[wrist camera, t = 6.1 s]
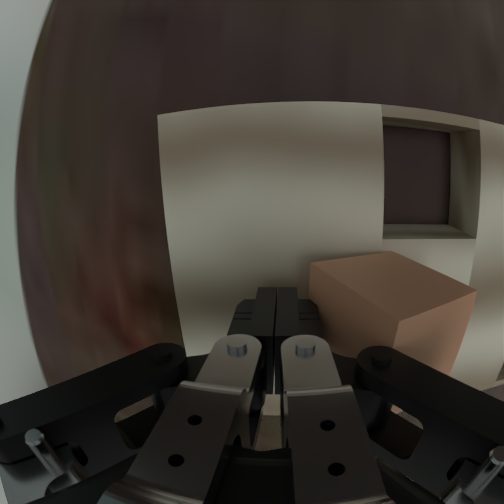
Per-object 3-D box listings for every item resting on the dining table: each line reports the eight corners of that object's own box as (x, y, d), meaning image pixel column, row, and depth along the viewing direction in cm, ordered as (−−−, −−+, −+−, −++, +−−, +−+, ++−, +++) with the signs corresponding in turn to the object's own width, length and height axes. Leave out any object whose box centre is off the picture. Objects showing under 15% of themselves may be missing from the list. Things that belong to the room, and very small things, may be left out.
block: (310, 262, 11) (399, 321, 6) (391, 251, 12) (477, 290, 8) (303, 355, 12) (365, 429, 8) (377, 333, 13) (444, 385, 9)
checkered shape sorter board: (181, 122, 14) (121, 105, 8) (588, 162, 10) (637, 173, 5) (210, 378, 19) (185, 448, 13) (555, 339, 15) (589, 375, 9)
